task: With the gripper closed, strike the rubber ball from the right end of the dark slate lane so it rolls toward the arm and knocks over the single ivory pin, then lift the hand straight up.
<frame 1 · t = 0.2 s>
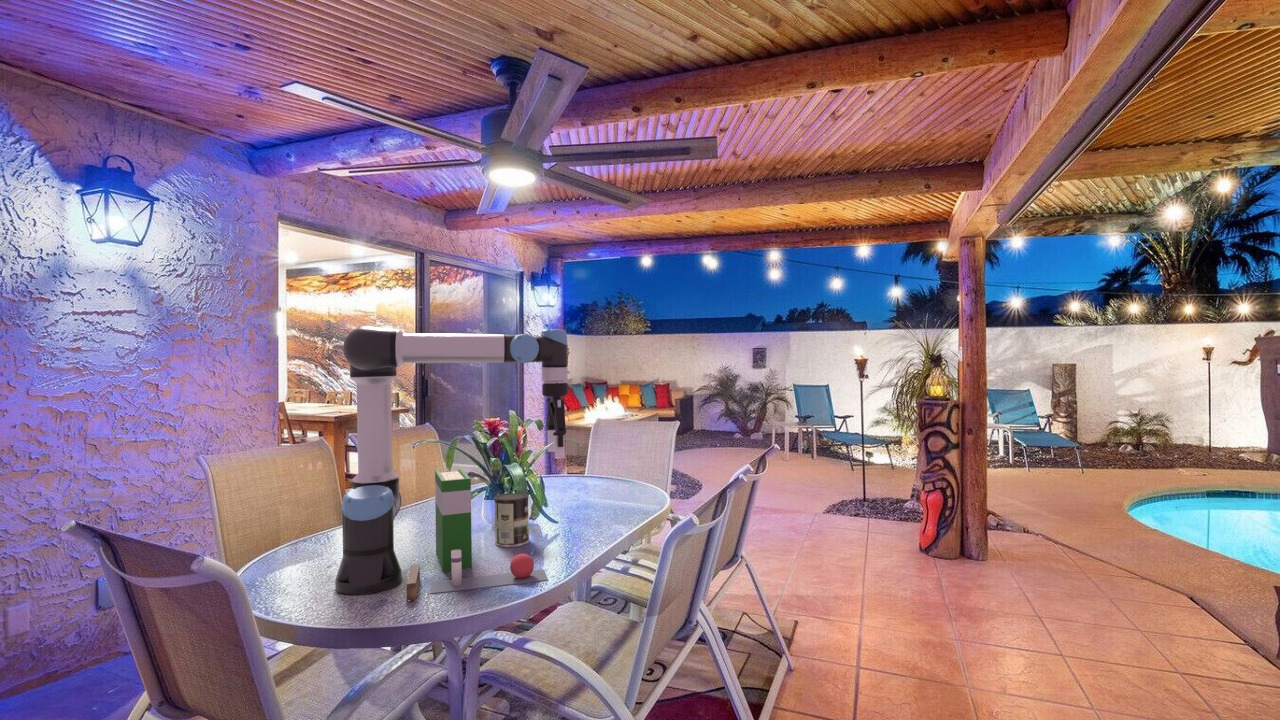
hand: (556, 455, 178), 28 cm above the table, fingers open, 13 cm apart
ball: (522, 566, 155), on the table
pin: (456, 585, 151), on the table
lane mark: (490, 581, 153), on the table
coffee can: (512, 543, 186), on the table
stopper wall: (413, 590, 148), on the table
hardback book: (453, 561, 170), on the table
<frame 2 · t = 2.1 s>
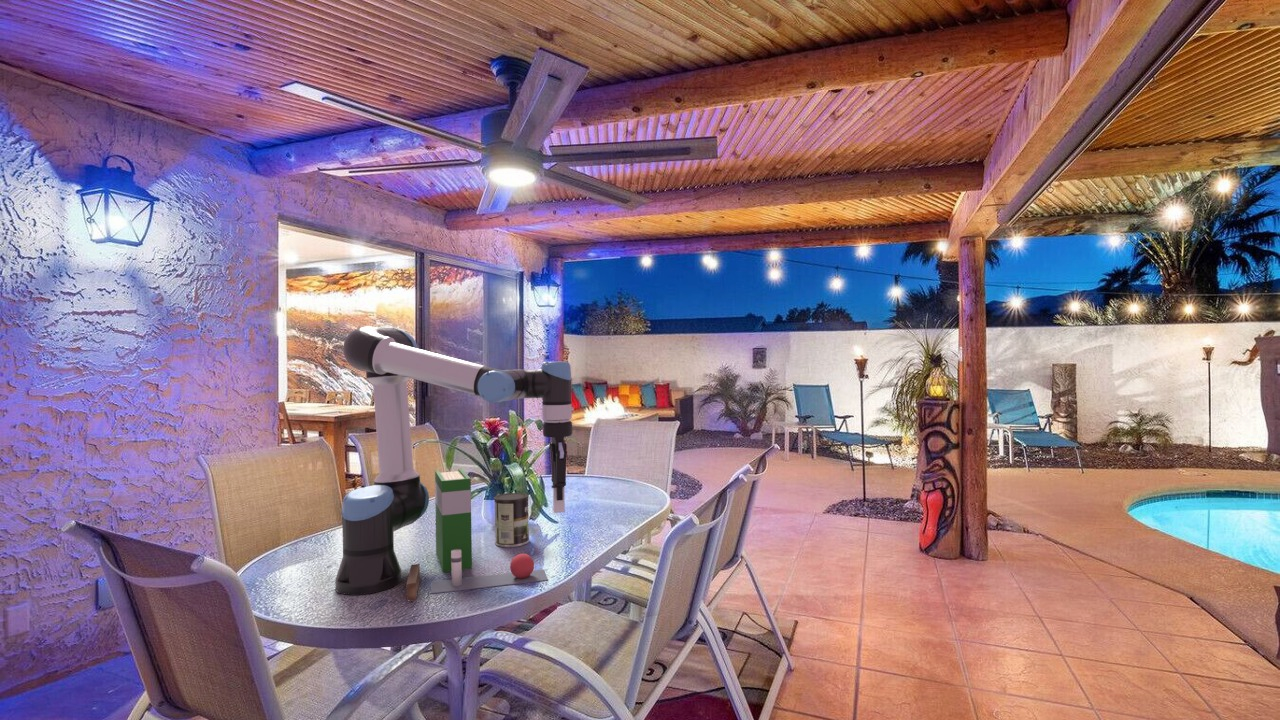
hand: (559, 511, 158), 16 cm above the table, fingers closed
nothing on the table moved.
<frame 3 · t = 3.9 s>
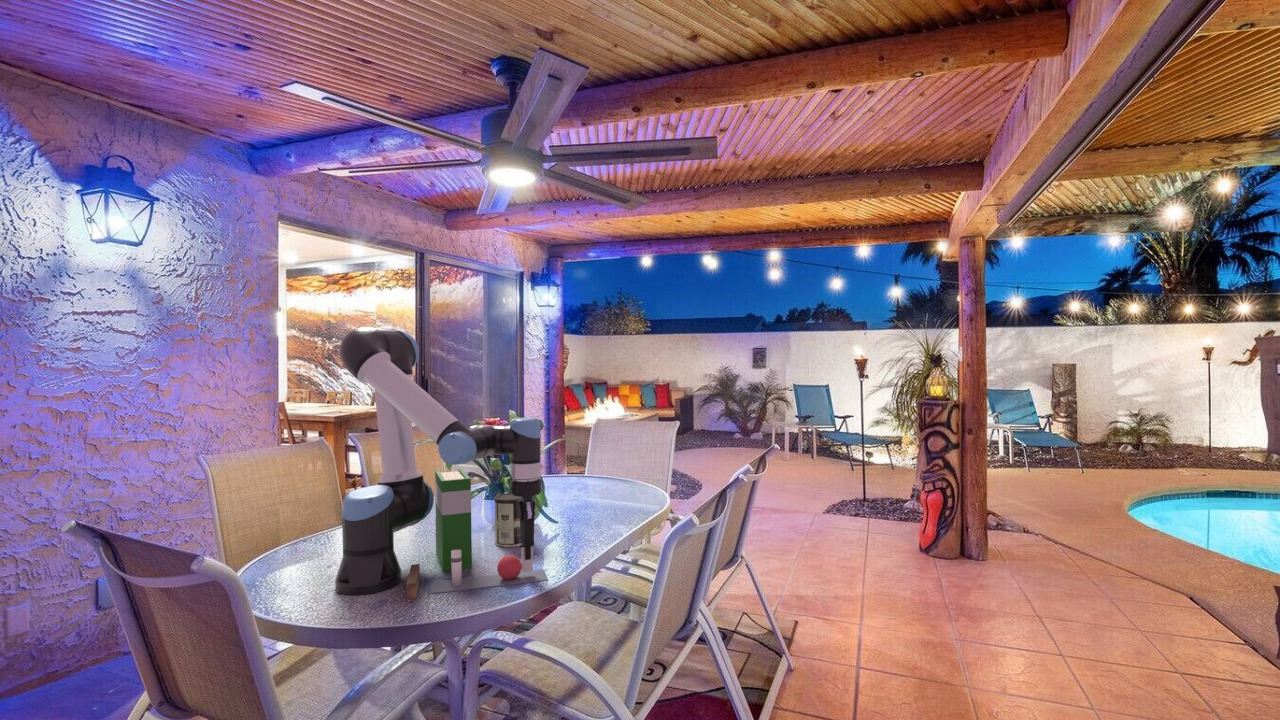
hand: (527, 570, 156), 2 cm above the table, fingers closed
ball: (509, 567, 154), on the table
everything else where it was.
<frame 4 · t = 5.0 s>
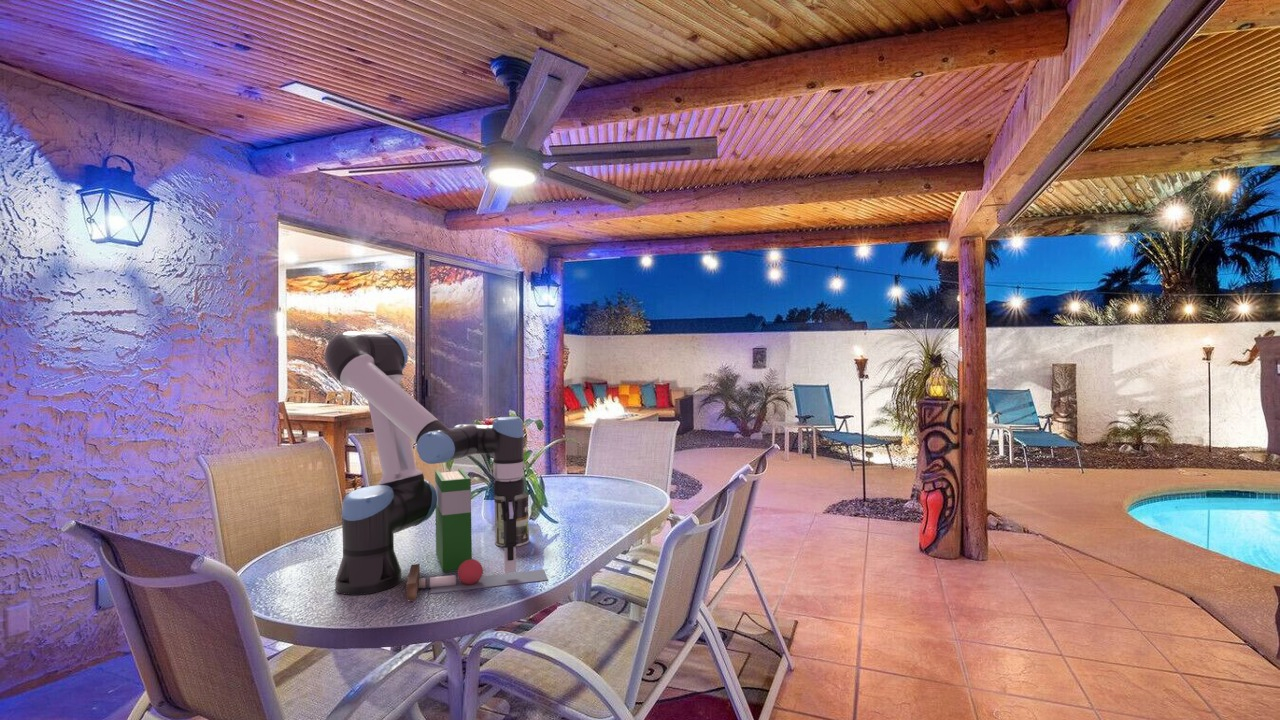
hand: (510, 571, 154), 2 cm above the table, fingers closed
ball: (470, 571, 151), on the table
pin: (455, 580, 151), point 1 cm above the table, tilted 90°
everything else where it was.
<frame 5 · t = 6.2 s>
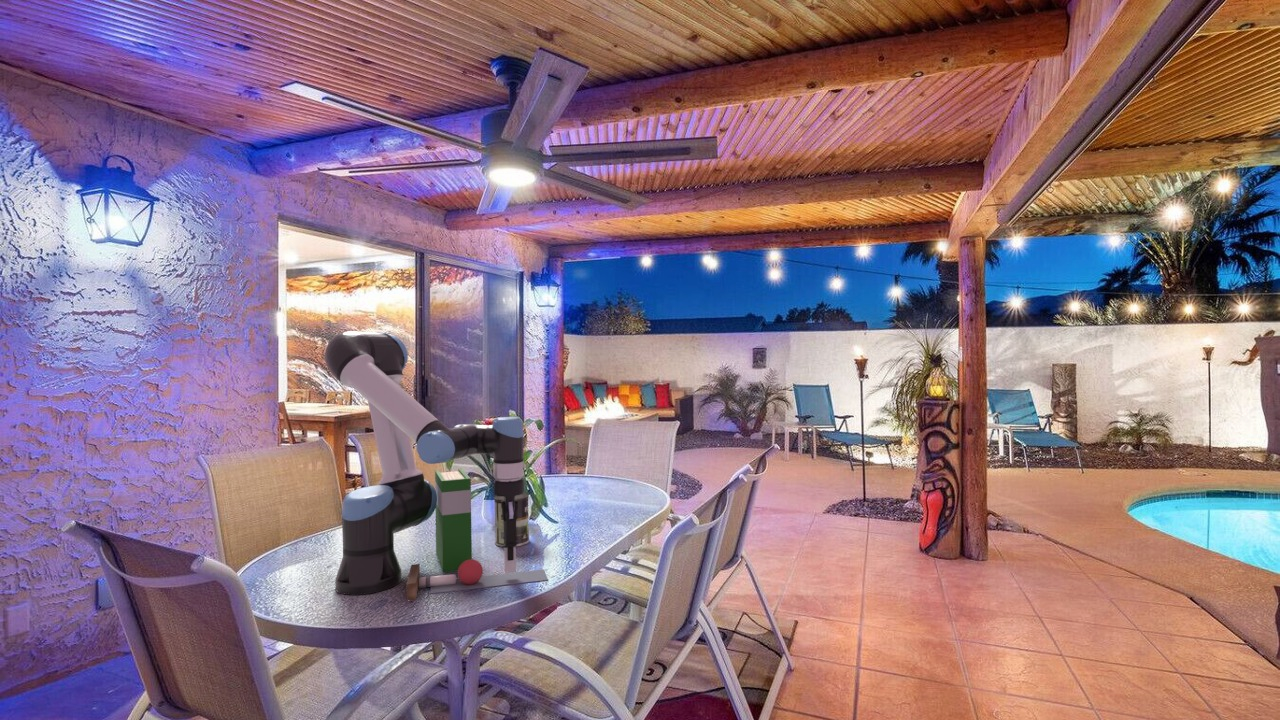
hand: (510, 571, 154), 2 cm above the table, fingers closed
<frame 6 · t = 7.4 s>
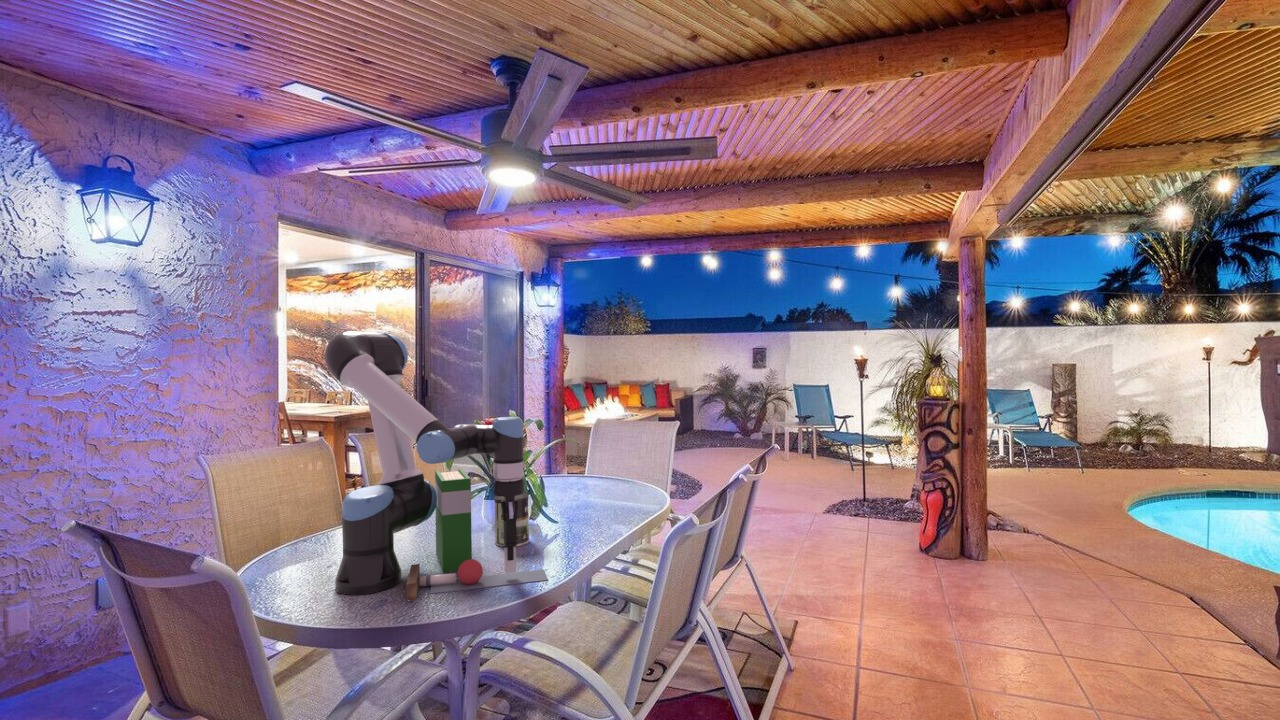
hand: (510, 571, 154), 2 cm above the table, fingers closed
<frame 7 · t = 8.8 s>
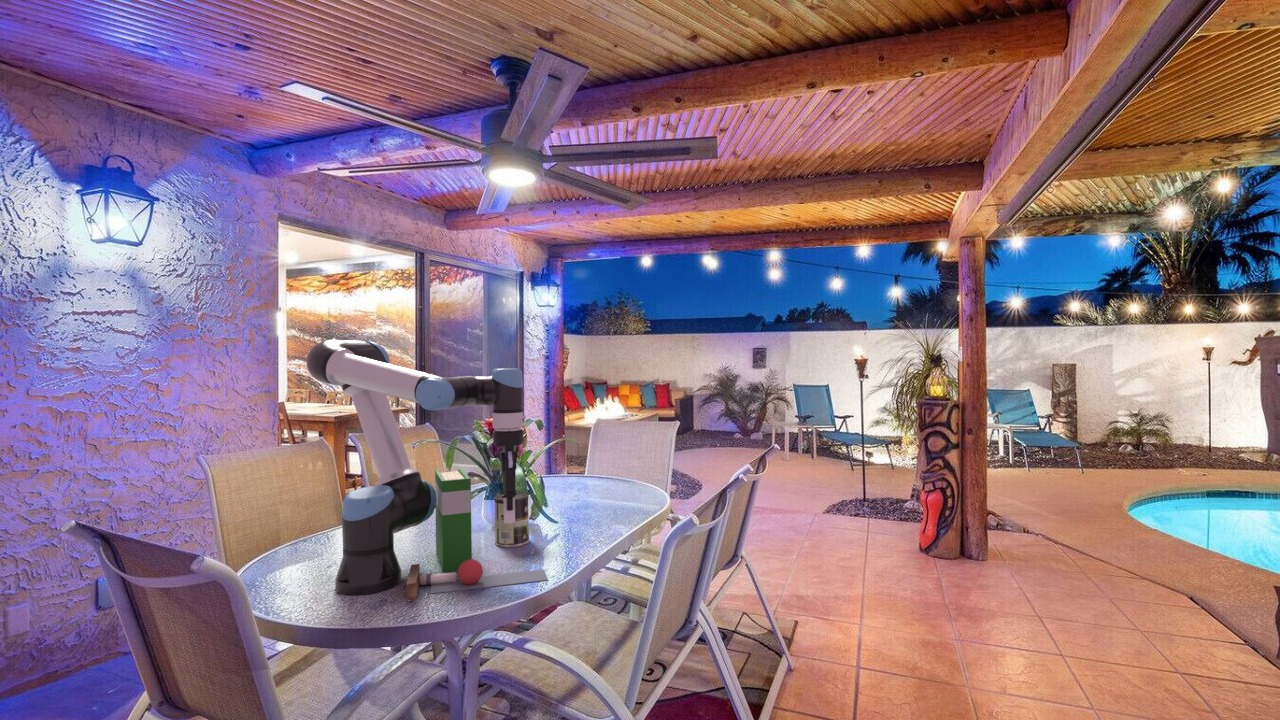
hand: (509, 522, 154), 14 cm above the table, fingers closed
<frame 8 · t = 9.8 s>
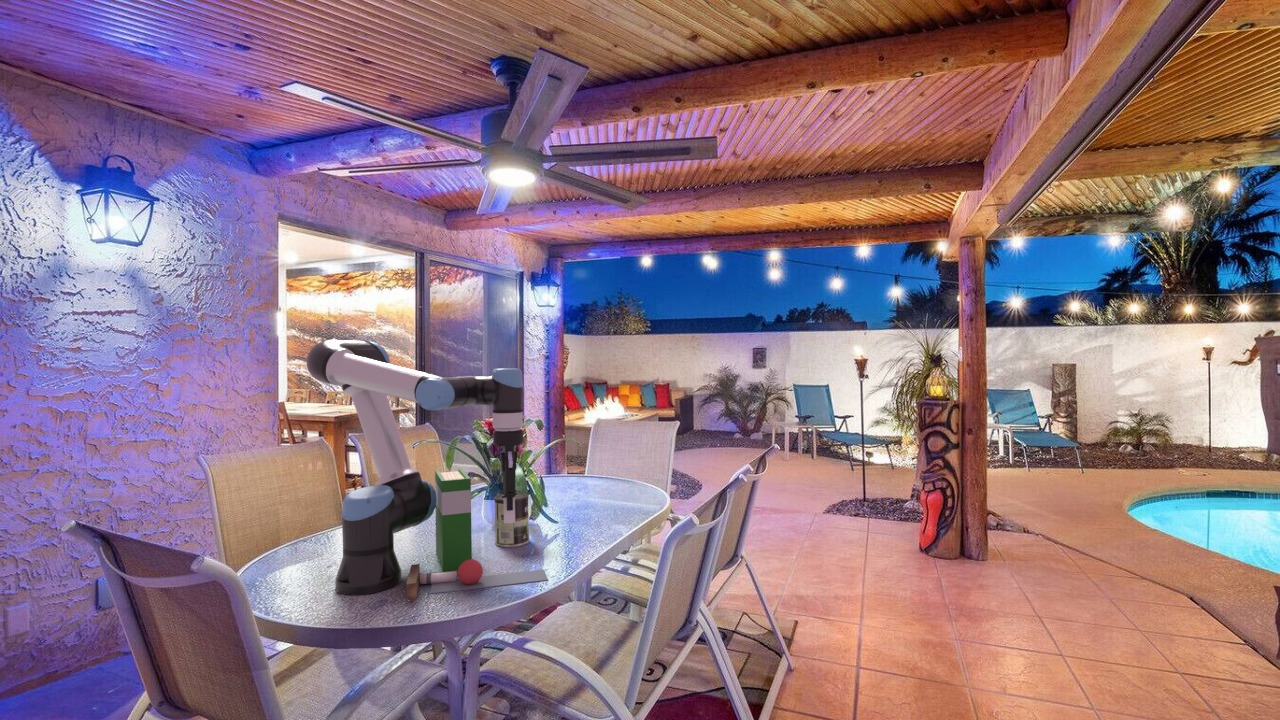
hand: (509, 522, 154), 14 cm above the table, fingers closed
at the end: pin tilted 90°; pin never touched the robot; ball moved 12.7 cm from its start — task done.
